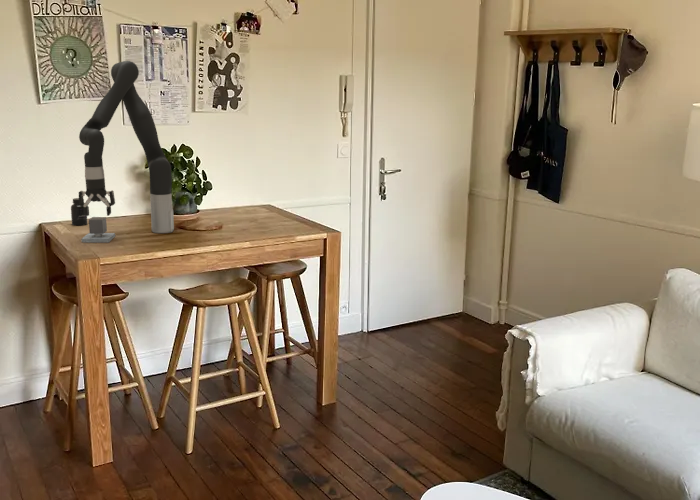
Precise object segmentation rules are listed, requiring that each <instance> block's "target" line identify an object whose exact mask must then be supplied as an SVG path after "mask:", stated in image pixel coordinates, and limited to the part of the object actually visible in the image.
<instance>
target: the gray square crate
mask: <svg viewBox="0 0 700 500" xmlns="http://www.w3.org/2000/svg"><path fill="white" fill-rule="evenodd" d="M88 230H89V233H90V234H104V233H107V232H108V227H107V217H106V216H92V217H91V218H89V219H88Z"/></svg>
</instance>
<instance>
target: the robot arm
mask: <svg viewBox="0 0 700 500" xmlns="http://www.w3.org/2000/svg"><path fill="white" fill-rule="evenodd" d="M139 73H140V71H139V67H138V65H137V64H136V63H135V62H133V61H130V60H122V61H119V62H116V63H115V64H113V65H112V67H111V70H110V75H111V79H112V81H113V84H112V85H111V87H110V89H109V90H108V91H107V93H106V94H105V95H104V96H103V98H101V100H100V101H99V104H97V106H96V108H95V110H94V111H93V114H92V116H91V118H89V119H88V120H87V122H85V124H84V125H83V127H82V128H81V130H80V132H79V136H78V138H79V141H80V143H81V144H82V145H84V146H88V150H87V152H85V153H84V156H83V159H84V178H85V179H84V180H85V189H86V190H85V191H84V190H80V191H78V198H79V205H80V206H83V207H84V212H85V215H86V216H87V217H89V216H90V207H89V205H90V203H91V202H93V203H94V202H99V203H100V202H101V203H103V204H104V205H105V206H106V207H105V208H106V216H110V215H111V214H112V207H113V206H114V205H116V199H115V192H114V190H108V191H107V190H106V189H107V188H106V182H105V181H106V179H105V170H104V163H103V154H104V147H105V137H104V134H103V132H102V131H101V130H102V129H105V128H107V127H108V126H109V124H110V122H111V121H112V119H113V116H114V114H115V113H116V111H117V109H118V107H119V106H120V103H122V102H123V105H124V107H125V111H126V112H127V115H128V118H129V121H130V124H131V126H132V129H133V131H134V133H135V135H136V137H137V140H138V141H139V143H140V145H141V146H142V149H143V152H144V155H145V158H146V163H147V165H148V171H149V194H150V195H149V198H150V216H151V217H150V219H151V220H150V221H151V232H153V233H155V234H168V233H173V231H174V230H175V223H174V222H175V220H174V219H175V218H174V209H173V198H172V195H173V194H172V185H173V183H172V181H173V180H172V167H171V166H172V165H171V163H170V161H169V160H168V159H167V157H166V155H165V153H164V151H163V149H162V146H161V145H160V141H159V135H158V131H157V127H156V124H155V121H154V119H153V116H152V113H151V110H150V109H149V107H148V105H146V103H145V102H144V100H142V98H141V97H140V96H139V94H138V92H137V89H136V86H135V84H134V83H135V82H136V81H137V79H138V77H139ZM85 195H86V197H87V199H86V201H84V203H83V199H84V197H85ZM107 195H108V197H109V199H107V197H106V196H107Z"/></svg>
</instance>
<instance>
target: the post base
mask: <svg viewBox="0 0 700 500" xmlns="http://www.w3.org/2000/svg"><path fill="white" fill-rule="evenodd" d="M115 237H116V233H115V232H105V233H104V234H90V232H88V233H87V234H85V235H84V236H83V237H82V238H81V241H80V242H81V243H96V244H97V243H98V244H99V243H103V244H105V243H110V242H111V241H112V240H113V239H114V238H115Z"/></svg>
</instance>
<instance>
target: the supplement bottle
mask: <svg viewBox="0 0 700 500" xmlns="http://www.w3.org/2000/svg"><path fill="white" fill-rule="evenodd" d="M83 203H85V199H84V198H83ZM70 214H71V215H70V216H71V225H73V226H78V227H79V226H80V227H81V226H82V227H83V226H86V225H88V216H86V215H85V212H84V207H83V206H80V205H79V197H76V198H72V205H71V206H70Z"/></svg>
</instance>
